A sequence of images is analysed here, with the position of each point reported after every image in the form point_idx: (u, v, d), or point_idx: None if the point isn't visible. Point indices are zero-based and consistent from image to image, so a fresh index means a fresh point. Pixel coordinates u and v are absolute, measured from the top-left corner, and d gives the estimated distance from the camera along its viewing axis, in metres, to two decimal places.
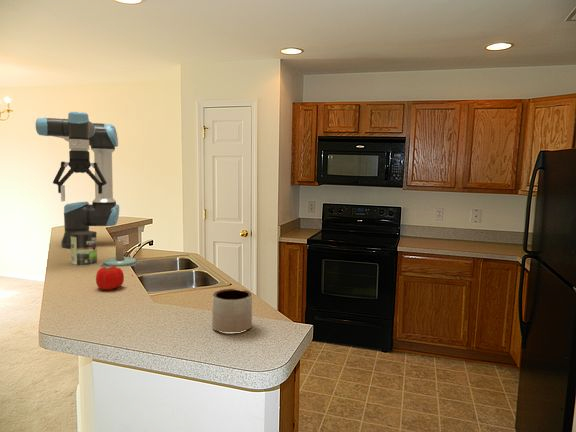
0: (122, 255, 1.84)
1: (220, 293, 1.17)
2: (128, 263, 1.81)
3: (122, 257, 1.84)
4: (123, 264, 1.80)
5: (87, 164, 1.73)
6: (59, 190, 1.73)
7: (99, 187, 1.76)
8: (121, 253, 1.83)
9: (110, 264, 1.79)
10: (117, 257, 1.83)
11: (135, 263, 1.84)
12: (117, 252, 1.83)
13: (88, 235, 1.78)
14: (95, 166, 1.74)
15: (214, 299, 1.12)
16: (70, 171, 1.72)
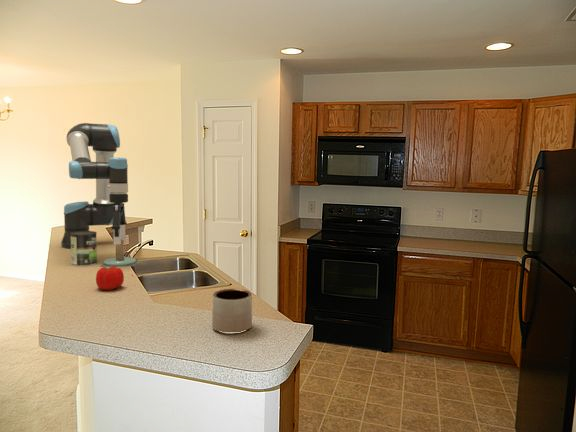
0: (122, 255, 1.84)
1: (220, 293, 1.17)
2: (128, 263, 1.81)
3: (122, 257, 1.84)
4: (123, 264, 1.80)
5: None
6: None
7: (114, 230, 1.76)
8: (121, 253, 1.83)
9: (110, 264, 1.79)
10: (117, 257, 1.83)
11: (135, 263, 1.84)
12: (117, 252, 1.83)
13: (88, 235, 1.78)
14: None
15: (214, 299, 1.12)
16: None
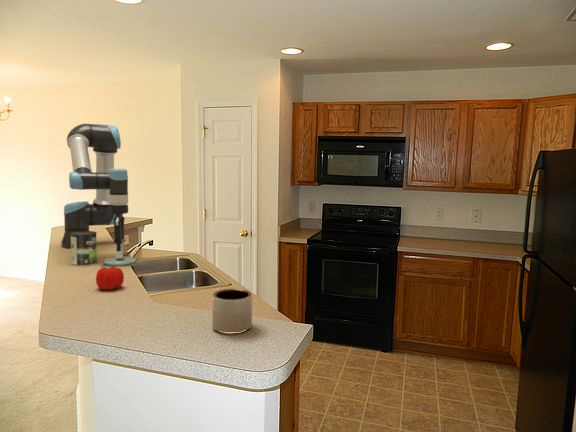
0: None
1: (220, 292, 1.17)
2: (128, 263, 1.81)
3: None
4: (123, 264, 1.80)
5: (115, 218, 1.79)
6: None
7: (117, 245, 1.81)
8: None
9: (110, 264, 1.79)
10: None
11: (135, 263, 1.84)
12: None
13: (88, 235, 1.78)
14: (114, 224, 1.77)
15: (214, 299, 1.12)
16: None
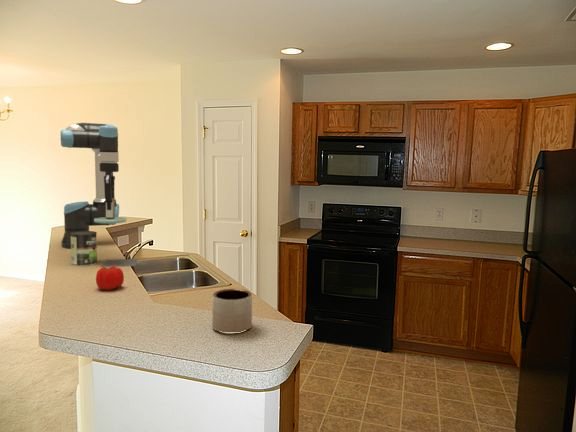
0: None
1: (220, 292, 1.17)
2: (119, 221, 1.79)
3: None
4: (113, 222, 1.77)
5: (105, 176, 1.77)
6: None
7: (107, 203, 1.79)
8: None
9: (100, 221, 1.76)
10: None
11: (135, 263, 1.84)
12: None
13: (88, 235, 1.78)
14: None
15: (214, 299, 1.12)
16: None
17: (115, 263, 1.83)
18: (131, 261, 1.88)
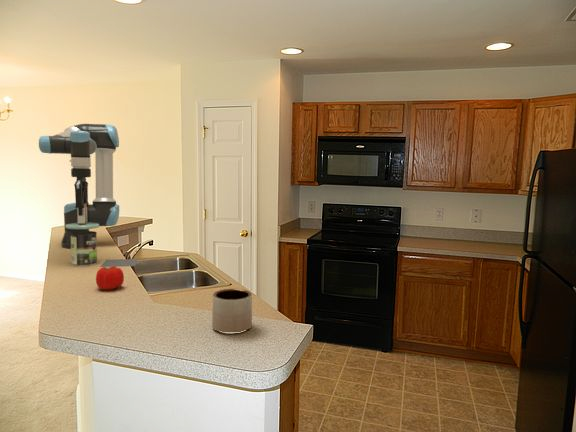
0: None
1: (220, 292, 1.17)
2: (90, 227, 1.77)
3: None
4: (84, 227, 1.75)
5: None
6: None
7: None
8: None
9: (71, 227, 1.74)
10: None
11: (135, 263, 1.84)
12: None
13: (88, 235, 1.78)
14: None
15: (214, 299, 1.12)
16: None
17: (115, 263, 1.83)
18: (131, 261, 1.88)
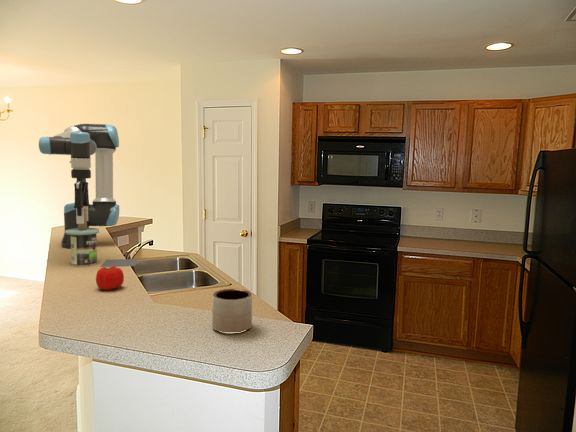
0: (84, 225, 1.80)
1: (220, 292, 1.17)
2: (90, 232, 1.77)
3: (84, 227, 1.80)
4: (84, 233, 1.75)
5: None
6: None
7: None
8: None
9: (71, 233, 1.75)
10: (79, 227, 1.79)
11: (135, 263, 1.84)
12: None
13: (88, 235, 1.78)
14: None
15: (214, 299, 1.12)
16: None
17: (115, 263, 1.83)
18: (131, 261, 1.88)
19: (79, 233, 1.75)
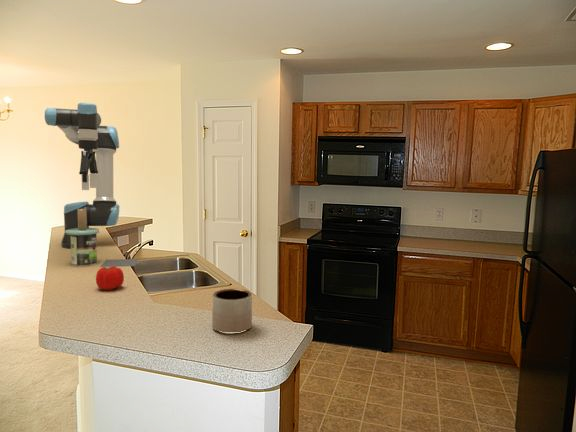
0: (84, 225, 1.80)
1: (220, 292, 1.17)
2: (90, 232, 1.77)
3: (84, 227, 1.80)
4: (84, 233, 1.75)
5: None
6: None
7: None
8: (83, 223, 1.79)
9: (71, 233, 1.75)
10: (79, 227, 1.79)
11: (135, 263, 1.84)
12: (79, 221, 1.79)
13: (88, 235, 1.78)
14: None
15: (214, 299, 1.12)
16: None
17: (115, 263, 1.83)
18: (131, 261, 1.88)
19: (79, 233, 1.75)
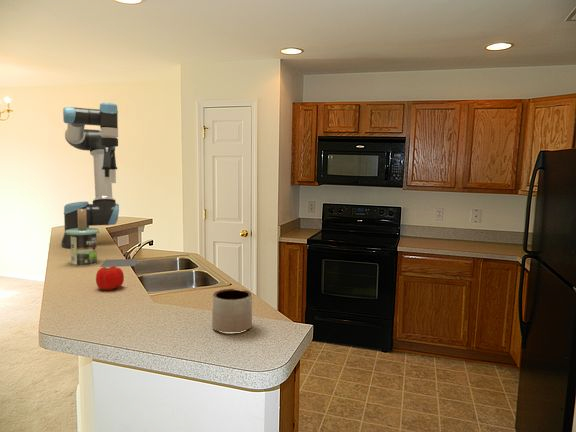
0: (84, 225, 1.80)
1: (220, 292, 1.17)
2: (90, 232, 1.77)
3: (84, 227, 1.80)
4: (84, 233, 1.75)
5: None
6: None
7: None
8: (83, 223, 1.79)
9: (71, 233, 1.75)
10: (79, 227, 1.79)
11: (135, 263, 1.84)
12: (79, 221, 1.79)
13: (88, 235, 1.78)
14: (104, 151, 1.87)
15: (214, 299, 1.12)
16: None
17: (115, 263, 1.83)
18: (131, 261, 1.88)
19: (79, 233, 1.75)
